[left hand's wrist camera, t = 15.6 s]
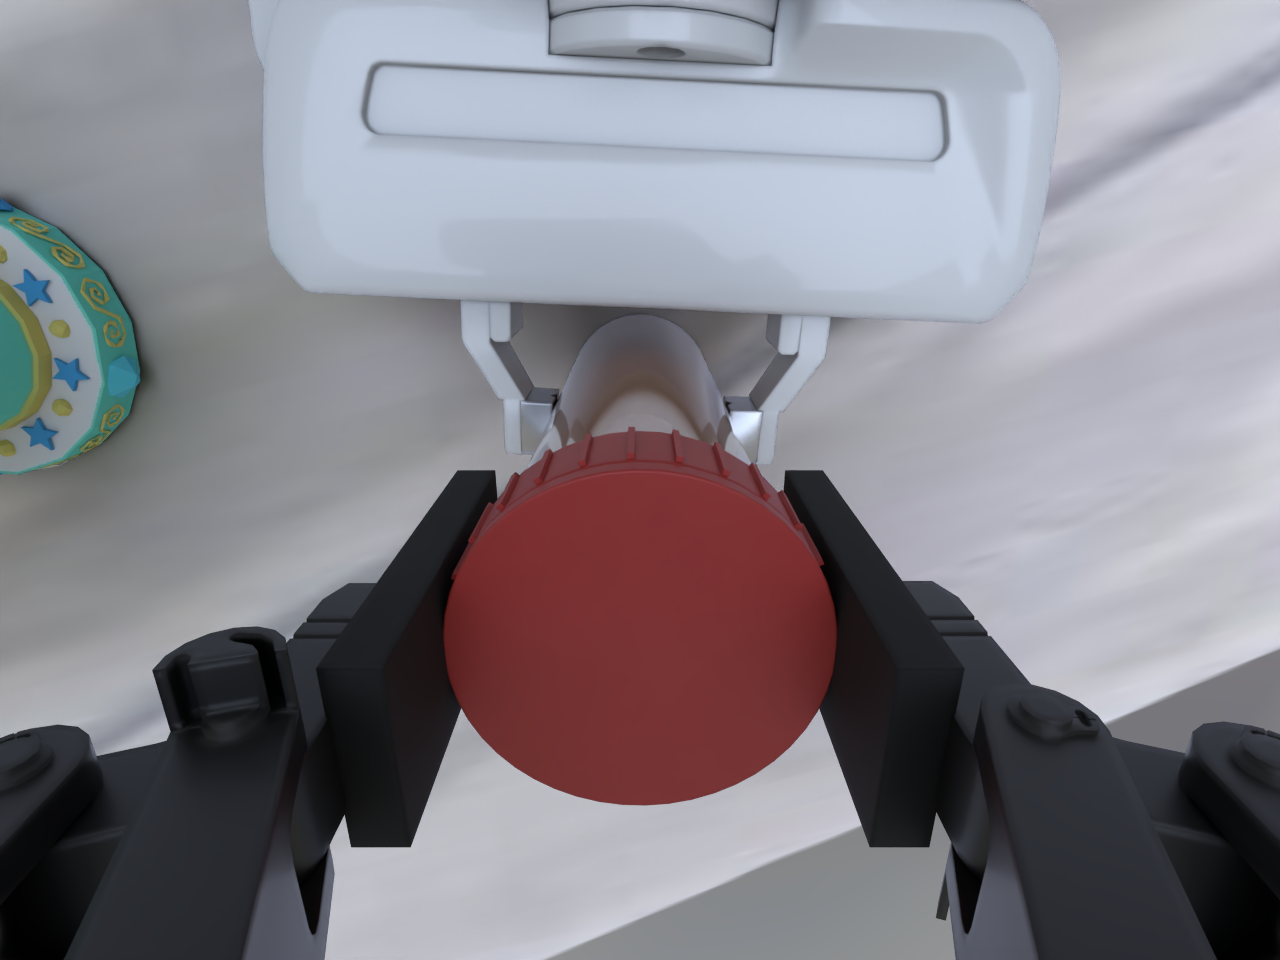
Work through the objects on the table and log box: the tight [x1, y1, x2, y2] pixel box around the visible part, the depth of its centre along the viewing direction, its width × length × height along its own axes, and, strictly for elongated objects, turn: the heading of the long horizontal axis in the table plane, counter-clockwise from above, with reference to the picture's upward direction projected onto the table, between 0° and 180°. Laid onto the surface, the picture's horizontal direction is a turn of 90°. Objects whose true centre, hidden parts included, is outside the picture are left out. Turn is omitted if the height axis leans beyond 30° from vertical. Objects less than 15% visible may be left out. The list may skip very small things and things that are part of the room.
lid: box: [443, 427, 838, 805], centre depth 11 cm, size 6×6×2 cm
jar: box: [527, 314, 751, 469], centre depth 19 cm, size 5×5×18 cm
